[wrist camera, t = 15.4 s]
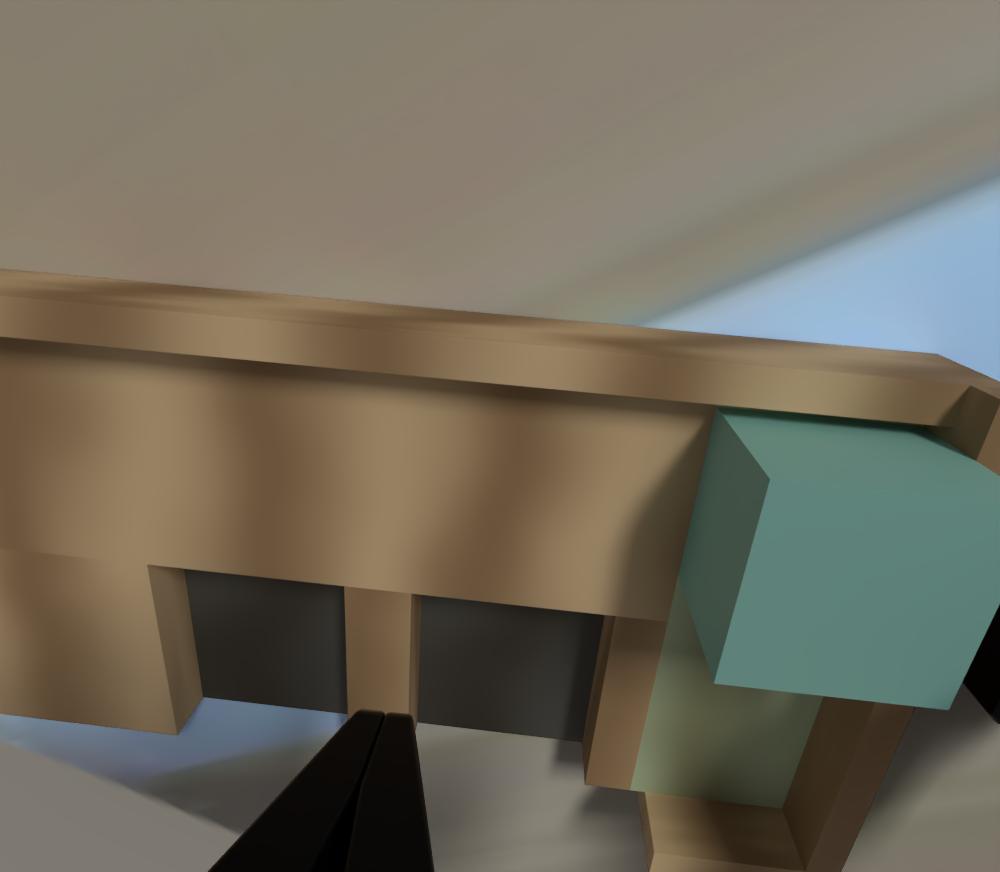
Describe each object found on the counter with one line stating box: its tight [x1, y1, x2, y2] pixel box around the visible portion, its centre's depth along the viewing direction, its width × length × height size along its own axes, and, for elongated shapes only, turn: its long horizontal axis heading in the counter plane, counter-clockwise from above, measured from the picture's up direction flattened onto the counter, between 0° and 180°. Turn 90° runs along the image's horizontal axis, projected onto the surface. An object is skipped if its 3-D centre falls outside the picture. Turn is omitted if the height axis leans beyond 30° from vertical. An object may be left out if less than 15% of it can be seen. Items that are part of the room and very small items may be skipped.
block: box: [679, 407, 1000, 710], centre depth 14 cm, size 5×5×4 cm
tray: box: [0, 269, 1000, 872], centre depth 18 cm, size 28×16×4 cm, turn 86°
